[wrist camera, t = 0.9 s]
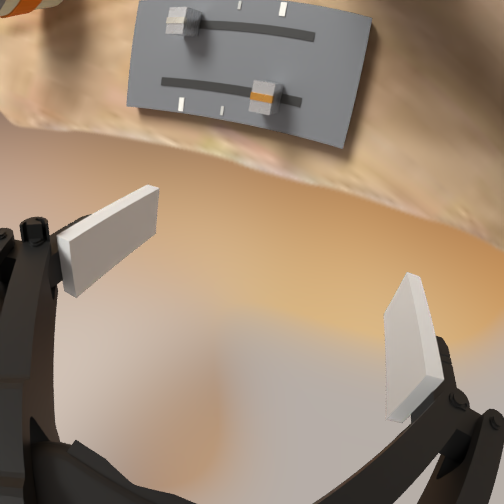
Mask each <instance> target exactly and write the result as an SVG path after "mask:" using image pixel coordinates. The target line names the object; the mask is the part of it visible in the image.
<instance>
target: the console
mask: <svg viewBox="0 0 504 504" xmlns="http://www.w3.org/2000/svg"><path fill="white" fill-rule="evenodd" d="M170 7H189V8H192V9H195V10H198V11H201V12H202V14H201V20H200V26H199V32H198V37H189V36H177V35H170V34H165V33H166V26H167V23H166V20H167V17H168V14H169V9H170ZM371 22H372V18H370V17H367V16H363V15H359V14H355V13H351V12H346V11H342V10H337V9H332V8H327V7H322V6H316V5H311V4H304V3H298V2H290V1H282V0H141V1H139V5H138V11H137V17H136V23H135V30H134V37H133V45H132V52H131V61H130V70H129V81H128V93H127V106H128V107H138V108H147V109H156V110H164V111H171V112H178V113H185V114H191V115H198V116H204V117H210V118H215V119H221V120H226V121H231V122H236V123H241V124H246V125H251V126H256V127H260V128H265V129H269V130H273V131H278V132H282V133H286V134H290V135H294V136H298V137H302V138H306V139H309V140H313V141H317V142H320V143H324V144H327V145H331V146H334V147H338V148H341V149H343V146H344V143H345V139H346V135H347V131H348V127H349V123H350V119H351V115H352V111H353V106H354V102H355V98H356V94H357V89H358V85H359V80H360V76H361V71H362V67H363V62H364V57H365V53H366V48H367V43H368V38H369V33H370V27H371ZM254 80H264V81H270V82H275V83H280V84H283V90H282V95H281V100H280V105H279V110H278V113H275V114H272V115H265V114H261V113H256V112H251V111H249V105H250V95H251V92H252V87H253V82H254Z"/></svg>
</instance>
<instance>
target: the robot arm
mask: <svg viewBox="0 0 504 504" xmlns="http://www.w3.org/2000/svg"><path fill="white" fill-rule="evenodd" d="M158 198H159V188H157V187H154V186H150V185H146V186H144V187H142V188H140V189H138V190H136V191H134V192H132V193H130V194H128V195H127V196H125V197H123V198H121V199H119V200H117V201H115V202H114V203H112V204H110V205H108V206H106V207H105V208H103V209H101V210H99V211H97V212H95V213H94V214H90V215H86V216H83V217H81V218H79V219H77V220H75V221H74V222H72V223H70V224H68V226H65V227H63V228H62V229H60V230H58V231H57V232H55V233H53V234H52V235H50V236H49V228H48V220H47V219H46V218H42V217H31V218H29V219H26V220H24V221H23V222H21V224H20V232H21V239H22V241H19V240H14V235H13V231H12V230H11V229H9V228H0V504H196V503H193V502H191V501H188V500H186V499H184V498H181V497H179V496H176V495H174V494H170V493H165V492H160V491H156V490H152V489H148V488H144V487H140V486H137V485H134V484H132V483H131V482H130V481H128V479H126V478H125V477H124V476H123V475H122V474H121V473H120V472H119V471H117V470H116V469H115V468H114V467H113V466H112V465H111V464H110V463H109V462H108V461H107V460H106V459H105V458H103V457H102V456H100V455H99V454H97V453H95V452H94V451H92V450H91V449H89V448H88V447H86V446H84V445H83V444H82V443H80V442H79V441H77V440H75V441H74V443H73V444H72V445H70V444H66V443H62V442H60V440H59V436H58V433H57V429H56V425H55V415H54V393H53V392H54V390H53V357H54V332H55V317H56V306H57V295H58V288H57V284H58V283H59V282H60V281H62V280H63V286H64V291H65V292H67V293H69V294H70V295H72V296H74V297H76V298H77V297H78V296H79V295H81V294H82V293H83V292H84V291H85V290H86V289H88V288H89V287H90V286H91V285H92V284H93V283H95V282H96V281H97V280H98V279H100V278H101V277H102V276H103V275H104V274H106V273H107V272H108V271H109V270H110V269H112V268H113V267H114V266H115V265H117V264H118V263H119V262H120V261H121V260H123V259H124V258H125V257H127V256H128V255H129V254H130V253H132V252H133V251H134V250H135V249H137V248H138V247H139V246H140V245H142V244H143V243H144V242H146V241H147V240H148V239H149V238H151V237H152V236H153V235H155V233H156V221H157V209H158ZM384 328H385V349H386V420H390V421H395V422H399V423H403V422H404V421H405V420H406V419H407V418H408V417H409V416H410V415H411V424H410V425H409V426H408V427H407V428H406V429H405V430H403V431H402V432H401V433H400V434H399V435H398V436H397V437H396V438H395V439H394V440H393V441H392V442H391V443H390V444H389V445H388V446H387V447H385V448H384V449H383V450H382V451H381V452H380V453H379V454H378V455H376V456H375V457H374V458H373V459H372V460H370V461H369V462H368V463H367V464H366V465H364V466H363V467H362V468H361V469H359V470H358V471H357V472H356V473H354V474H353V475H352V476H351V477H349V478H348V479H347V480H346V481H344V482H343V483H341V484H340V485H339V486H337V487H336V488H335V489H333V490H332V491H330V492H329V493H328V494H326V495H325V496H323V497H322V498H321V499H319V500H317V501H316V502H315V503H313V504H393V503H394V502H395V501H396V500H397V499H398V498H399V497H400V496H401V495H402V494H403V493H404V492H405V491H406V490H407V489H408V487H409V486H410V485H411V484H412V483H413V482H414V481H415V480H416V479H417V478H418V477H419V475H420V474H421V473H422V472H423V471H424V470H425V468H426V467H427V466H428V465H429V464H430V462H431V461H432V460H433V459H434V458H435V457H436V455H437V454H438V453H440V454H441V455H440V458H439V460H438V462H437V464H436V466H435V469H434V471H433V473H432V475H431V477H430V480H429V481H428V484H427V486H426V488H425V489H424V492H423V493H422V495H421V497H420V499H419V501H418V503H417V504H488V503H489V499H490V496H491V493H492V490H493V486H494V483H495V479H496V475H497V472H498V468H499V463H500V459H501V455H502V450H503V445H504V417H503V416H502V414H501V413H499V412H498V411H497V410H495V409H489V410H487V411H486V412H485V413H484V414H483V415H480V414H479V413H477V412H475V411H473V410H472V409H470V406H469V401H468V398H467V397H466V395H465V394H464V393H463V392H462V391H461V390H459V389H458V388H457V387H456V382H455V376H454V372H453V367H452V365H451V364H452V363H451V358H450V354H449V349H448V346H447V345H446V343H445V341H444V340H443V338H441V337H438V336H435V331H434V327H433V324H432V319H431V315H430V311H429V307H428V303H427V299H426V296H425V292H424V289H423V285H422V282H421V278H420V277H419V276H417V275H414V274H412V273H409V272H407V273H406V275H405V276H404V279H403V280H402V282H401V284H400V286H399V288H398V290H397V292H396V293H395V295H394V297H393V299H392V301H391V303H390V304H389V306H388V308H387V309H386V311H385V313H384Z"/></svg>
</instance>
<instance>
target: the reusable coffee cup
mask: <svg viewBox="0 0 504 504" xmlns="http://www.w3.org/2000/svg"><path fill="white" fill-rule="evenodd" d="M62 1H63V0H0V17H1V18H6V17H11V16H15V15H20V14H26V13H29V12H31V11H33V10H36V9H43V8H50V7H55V6H57V5H58V4H60V3H61V2H62Z"/></svg>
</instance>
